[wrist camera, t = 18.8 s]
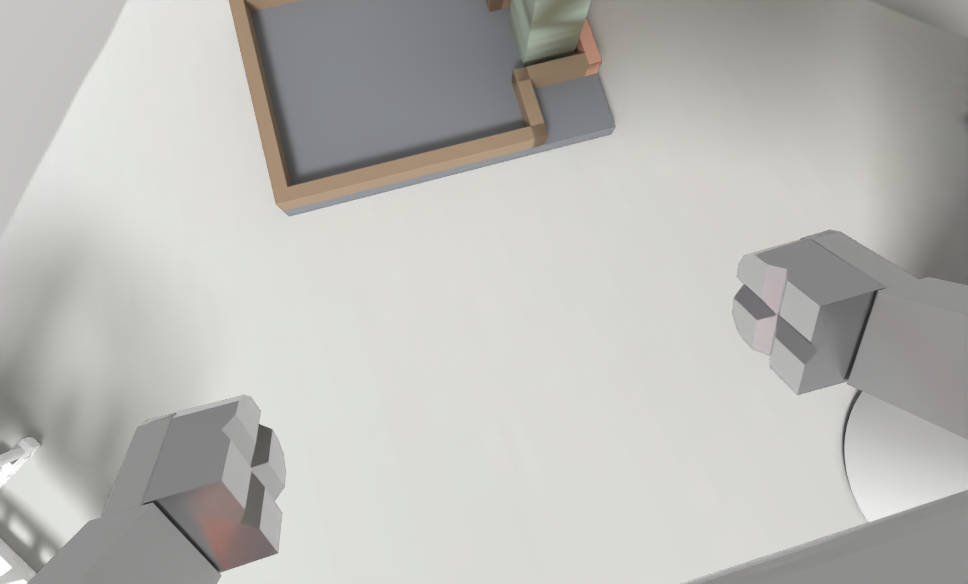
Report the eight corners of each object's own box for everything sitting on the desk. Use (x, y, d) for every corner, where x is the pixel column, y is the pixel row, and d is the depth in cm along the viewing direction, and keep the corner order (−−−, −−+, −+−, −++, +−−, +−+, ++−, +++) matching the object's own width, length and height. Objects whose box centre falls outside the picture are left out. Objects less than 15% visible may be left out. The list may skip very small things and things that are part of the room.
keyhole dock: (546, -55, 44) (552, -83, 41) (611, 134, 41) (621, 116, 39) (241, 13, 42) (226, -12, 39) (288, 216, 39) (275, 204, 37)
